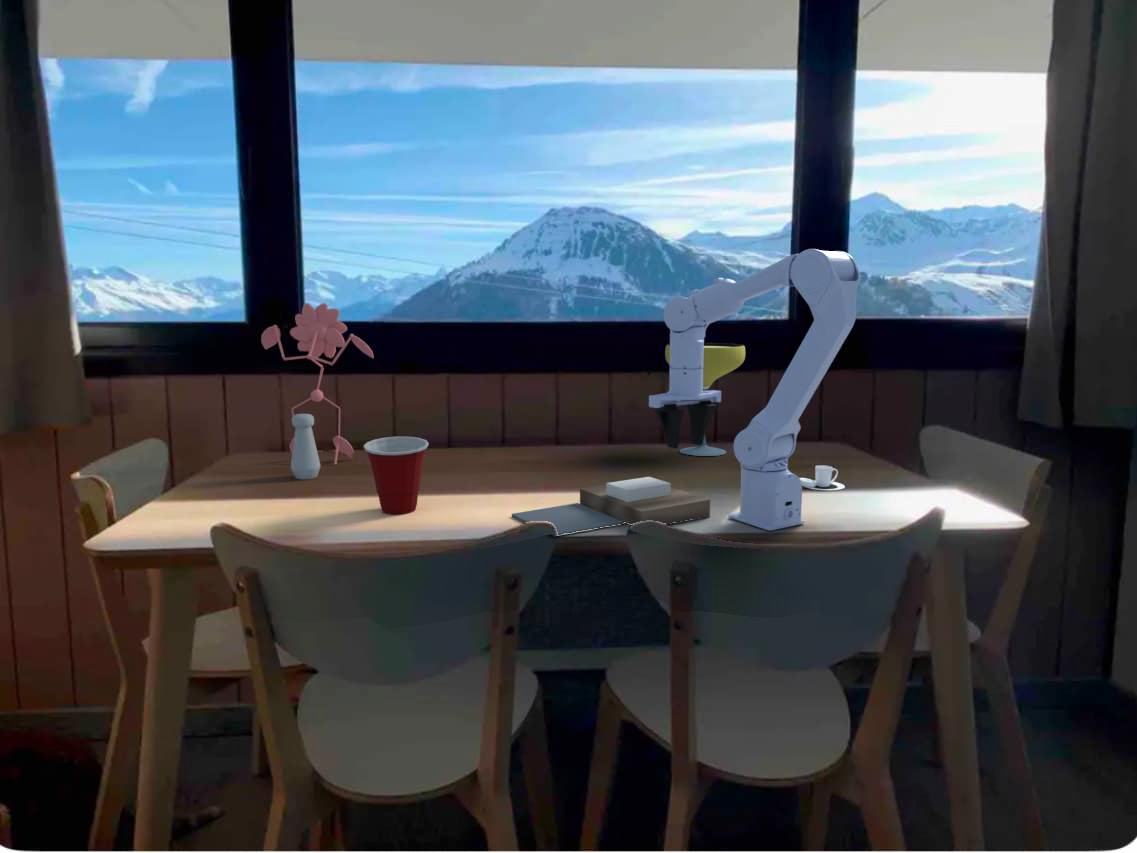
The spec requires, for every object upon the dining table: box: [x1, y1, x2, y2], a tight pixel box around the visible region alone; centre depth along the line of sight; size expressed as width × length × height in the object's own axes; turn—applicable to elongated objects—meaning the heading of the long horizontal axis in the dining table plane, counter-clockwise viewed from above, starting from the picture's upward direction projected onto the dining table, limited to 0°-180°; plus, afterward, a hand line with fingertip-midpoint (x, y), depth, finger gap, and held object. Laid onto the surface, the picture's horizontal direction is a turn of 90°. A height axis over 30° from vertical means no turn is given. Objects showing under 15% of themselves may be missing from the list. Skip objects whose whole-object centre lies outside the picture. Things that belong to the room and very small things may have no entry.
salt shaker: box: [290, 413, 321, 481], centre depth 163 cm, size 6×6×13 cm
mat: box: [511, 502, 625, 535], centre depth 132 cm, size 14×13×1 cm
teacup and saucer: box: [799, 464, 845, 492], centre depth 155 cm, size 9×8×4 cm
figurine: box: [260, 302, 375, 466], centre depth 180 cm, size 15×26×35 cm, turn 84°
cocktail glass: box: [664, 342, 746, 457], centre depth 186 cm, size 18×18×25 cm
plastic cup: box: [363, 436, 430, 515], centre depth 137 cm, size 11×11×12 cm
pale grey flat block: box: [605, 476, 672, 502], centre depth 136 cm, size 9×6×2 cm, turn 122°
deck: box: [579, 484, 711, 524], centre depth 137 cm, size 18×14×3 cm
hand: (684, 445), depth 140 cm, fingers open, 5 cm apart
